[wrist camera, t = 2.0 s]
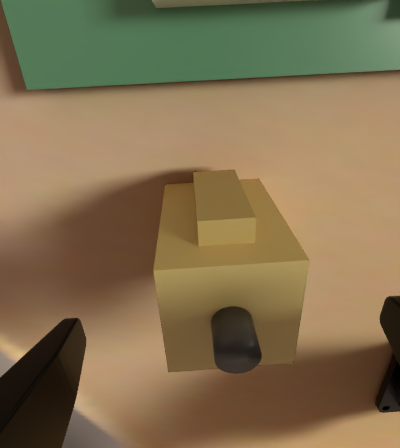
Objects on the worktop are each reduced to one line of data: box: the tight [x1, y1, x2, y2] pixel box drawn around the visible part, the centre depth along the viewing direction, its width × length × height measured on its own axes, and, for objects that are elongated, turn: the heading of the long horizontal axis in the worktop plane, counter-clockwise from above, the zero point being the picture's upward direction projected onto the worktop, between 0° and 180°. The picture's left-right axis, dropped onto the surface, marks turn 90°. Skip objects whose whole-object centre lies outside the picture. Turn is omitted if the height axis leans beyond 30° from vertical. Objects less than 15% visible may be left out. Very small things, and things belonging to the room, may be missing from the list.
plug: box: [153, 170, 309, 374], centre depth 11 cm, size 5×4×7 cm
